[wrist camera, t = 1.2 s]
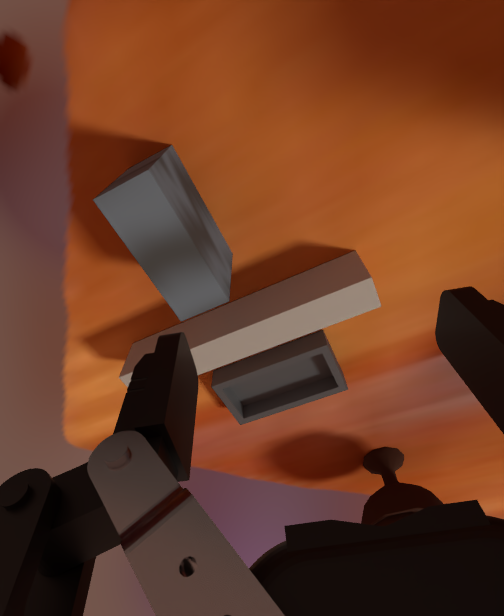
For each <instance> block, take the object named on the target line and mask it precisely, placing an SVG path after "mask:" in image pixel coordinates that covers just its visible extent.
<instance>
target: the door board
mask: <svg viewBox="0 0 504 616" xmlns="http://www.w3.org/2000/svg"><path fill="white" fill-rule="evenodd" d="M378 307H381V304H380V301H379V298H378V295H377V292H376V289H375V286H374V283H373V280H372V277H371V275H370V274H369V272H368V270H367V269H366V267H365V265H364V264H363V262H362V260H361V259H360V257H359V255H358V254H357V252H356V250H355V251H353V252H350V253H348V254H346V255H343V256H341V257H338V258H336V259H334V260H331V261H329V262H326V263H324V264H322V265H319V266H317V267H314V268H312V269H310V270H307V271H305V272H303V273H300V274H298V275H295V276H293V277H291V278H288V279H286V280H283V281H281V282H279V283H276V284H274V285H271V286H269V287H267V288H264V289H262V290H259V291H257V292H255V293H252V294H250V295H247V296H245V297H243V298H240V299H238V300H235V301H233V302H231V303H228V304H226V305H224V306H221V307H219V308H216V309H214V310H212V311H209V312H207V313H204V314H202V315H200V316H197V317H195V318H192V319H190V320H188V321H185V322H183V323H180V324H178V325H176V326H173V327H171V328H168V329H166V330H164V331H161V332H159V333H156V334H154V335H152V336H149V337H147V338H145V339H142V340H140V341H137V342H135V343H133V344H132V346H131V349H130V351H129V354H128V356H127V359H126V361H125V364H124V366H123V368H122V371H121V373H120V376H119V378H120V379H121V380H122V381H123V382H124V384H125V385H126V386H127V387H128V386H129V383H130V382H131V376H132V373H133V370H134V367H135V365H136V364H137V363H138V362H139V361H140V359H141V358H142V357H143V356H144V354H148V353H154V351H155V348H156V344H157V340H158V337H159V336H160V335H166V334H173V333H179V332H184V334H185V336H186V338H187V342H188V345H189V348H190V351H191V354H192V357H193V360H194V363H195V366H196V370H197V375H200V374H203V373H205V372H208V371H211V370H213V369H216V368H219V367H221V366H224V365H227V364H229V363H232V362H234V361H237V360H240V359H242V358H245V357H248V356H250V355H253V354H256V353H258V352H261V351H264V350H266V349H269V348H272V347H274V346H277V345H280V344H282V343H285V342H288V341H290V340H293V339H296V338H298V337H301V336H304V335H306V334H309V333H312V332H314V331H317V330H320V329H322V328H325V327H328V326H330V325H333V324H336V323H338V322H341V321H344V320H346V319H349V318H352V317H354V316H357V315H360V314H362V313H365V312H368V311H370V310H373V309H376V308H378Z"/></svg>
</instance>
